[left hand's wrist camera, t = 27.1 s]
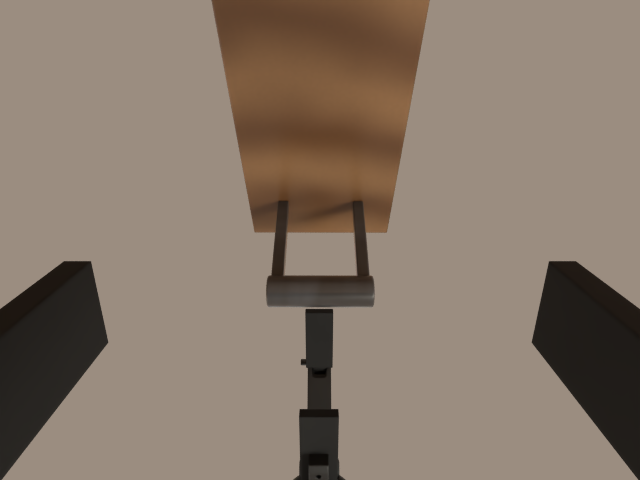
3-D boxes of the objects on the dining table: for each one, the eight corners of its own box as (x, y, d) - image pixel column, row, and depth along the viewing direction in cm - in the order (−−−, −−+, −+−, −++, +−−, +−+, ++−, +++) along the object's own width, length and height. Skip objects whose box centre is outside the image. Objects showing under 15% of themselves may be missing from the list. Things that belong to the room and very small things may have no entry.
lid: (385, 222, 31) (398, 330, 26) (256, 222, 31) (241, 329, 26) (429, -26, 19) (473, 83, 13) (211, -25, 19) (166, 83, 13)
